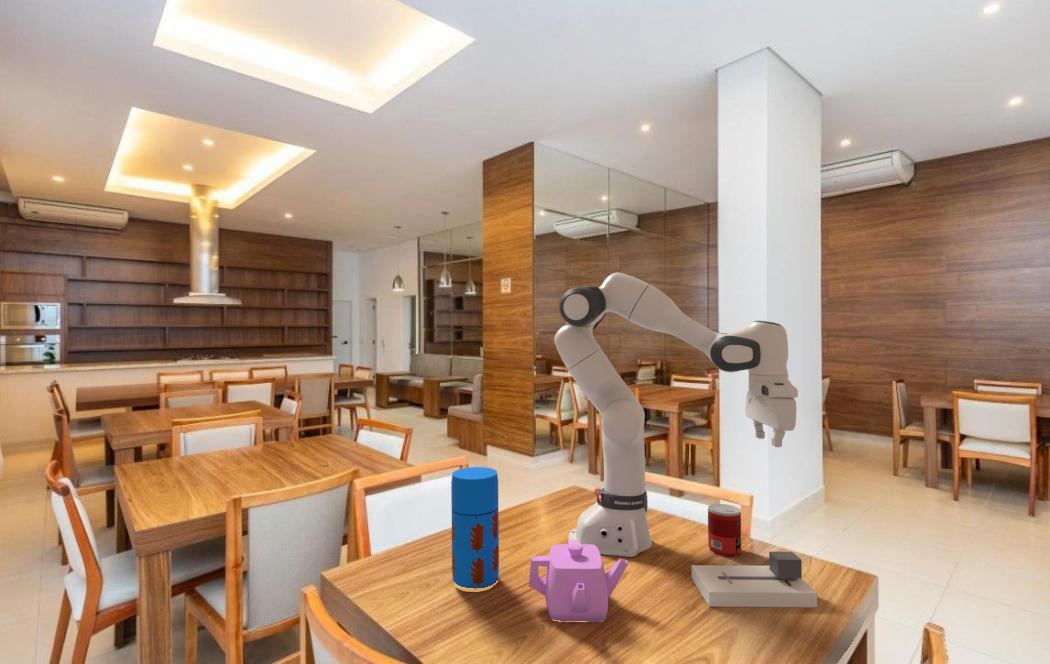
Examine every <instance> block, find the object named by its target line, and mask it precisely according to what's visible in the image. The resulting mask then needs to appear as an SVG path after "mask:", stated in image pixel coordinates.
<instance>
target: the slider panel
mask: <svg viewBox="0 0 1050 664" xmlns="http://www.w3.org/2000/svg"><path fill="white" fill-rule="evenodd" d="M691 580H692V581H693V583H694V584H695V586H696V588H697V590H698V592H700V595H701V596H702V598H703V599H704V601H705V602H706V604H707V605H708V607H711V608H713V607H715V608H716V607H717V608H719V607H723V608H725V607H727V608H728V607H732V608H735V607H736V608H737V607H738V608H818V593H817V591H816V590H814V588H812V587H811V586H810V585H809V584H808V583H807V582H806V581H805V580H804V579H803V578H777V577H776V576H775V575H774V574H773V573H772V572H771V571H770V570H769V565H727V564H726V565H723V564H722V565H717V564H716V565H715V564H714V565H712V564H710V565H707V564H706V565H704V564H703V565H700V564H699V565H698V564H697V565H695V564H694V565H691Z"/></svg>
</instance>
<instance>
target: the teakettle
mask: <svg viewBox="0 0 1050 664" xmlns="http://www.w3.org/2000/svg"><path fill="white" fill-rule="evenodd" d="M567 542H568V543H559V544H558V543H557V544H555V543H554V544H553V545H552V546H551V548H550V550H549V555H541V556H540V555H538V556H537V555H535V556H534V555H533V556H531V557H530V570H529V580H528V587H530V588H531V589H533V590H534V591H536V592H538V593H540V594H541V595H543V596H544V597H545V604H546V607H547V608H546V609H547V612H548V615H549V618H550V617H551V618H550V620H551V619H553V620H558V621H559V620H560V621H586V622H587V621H588V622H598V623H602V622H601V621H604V620H605V621H606V618H607V615H608V612H609V611H608V609H609V598H610V597H612V595H613V592H614V590H615V588H616V587H617V585H618V583H619V581H620V580H621V578H622V576H623V575H624V573H625V571H626V569H627V568H628V567H629V561H628V560H627V559H622V558H618V560H617V561H616V562H615V563H614V564H613V565H612V566H611V568H609V569H608V570H607V572H605V567H604V563H603V558H602V554H600V552H599V550H598V548H597V547H596V546H595V545H591V544H578V540H569V538H568V540H567ZM539 567H546V573H545V574H546V575H545V578H543V577H540V576H539ZM605 621H604V622H605Z"/></svg>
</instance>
